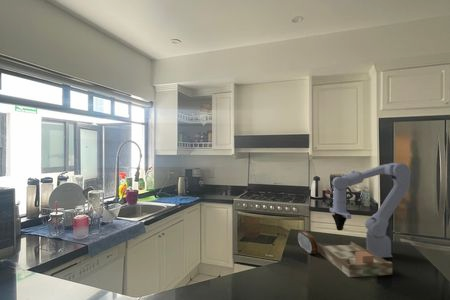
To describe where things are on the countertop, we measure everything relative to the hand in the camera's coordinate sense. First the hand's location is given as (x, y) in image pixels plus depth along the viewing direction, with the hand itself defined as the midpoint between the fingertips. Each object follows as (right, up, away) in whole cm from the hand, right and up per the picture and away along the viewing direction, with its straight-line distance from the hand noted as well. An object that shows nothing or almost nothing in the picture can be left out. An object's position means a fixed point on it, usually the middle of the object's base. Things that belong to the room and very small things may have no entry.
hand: (339, 229), depth 117 cm
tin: (-16, -10, 0) cm, 19 cm away
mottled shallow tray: (-1, -10, -12) cm, 16 cm away
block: (0, -7, -21) cm, 22 cm away
